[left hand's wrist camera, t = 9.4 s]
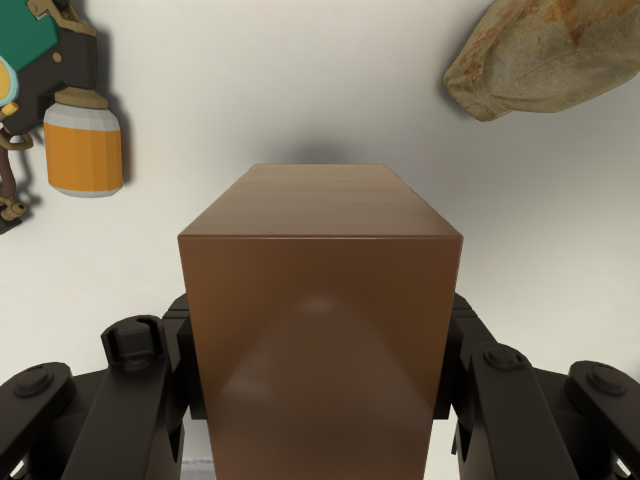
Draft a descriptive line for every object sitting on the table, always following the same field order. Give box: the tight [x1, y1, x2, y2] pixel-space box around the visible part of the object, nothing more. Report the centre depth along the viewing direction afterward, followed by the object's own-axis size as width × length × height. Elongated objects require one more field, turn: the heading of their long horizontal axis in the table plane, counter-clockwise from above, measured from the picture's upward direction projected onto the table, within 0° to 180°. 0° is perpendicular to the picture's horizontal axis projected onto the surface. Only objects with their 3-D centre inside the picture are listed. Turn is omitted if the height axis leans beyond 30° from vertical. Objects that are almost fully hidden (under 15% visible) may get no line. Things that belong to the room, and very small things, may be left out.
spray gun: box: [0, 0, 123, 235], centre depth 23 cm, size 4×17×15 cm
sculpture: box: [443, 0, 640, 122], centre depth 16 cm, size 6×7×15 cm
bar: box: [177, 164, 463, 480], centre depth 14 cm, size 23×5×8 cm, turn 0°
